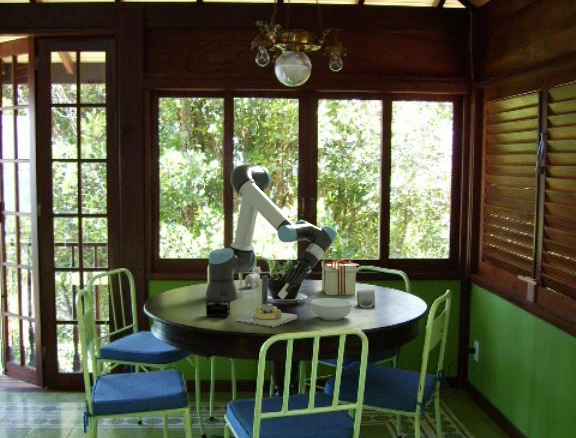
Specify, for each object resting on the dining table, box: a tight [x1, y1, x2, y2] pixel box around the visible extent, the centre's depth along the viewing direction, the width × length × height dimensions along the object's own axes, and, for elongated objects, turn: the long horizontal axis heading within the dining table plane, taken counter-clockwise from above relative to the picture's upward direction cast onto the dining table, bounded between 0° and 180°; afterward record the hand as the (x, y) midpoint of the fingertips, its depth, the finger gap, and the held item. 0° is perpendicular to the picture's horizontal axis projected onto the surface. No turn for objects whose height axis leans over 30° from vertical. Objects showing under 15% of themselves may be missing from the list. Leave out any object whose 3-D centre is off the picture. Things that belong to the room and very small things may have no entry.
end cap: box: [205, 300, 231, 319], centre depth 284 cm, size 10×7×7 cm
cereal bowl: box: [310, 297, 353, 321], centre depth 282 cm, size 17×17×7 cm
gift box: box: [321, 258, 361, 296], centre depth 337 cm, size 17×18×17 cm
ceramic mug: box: [356, 288, 376, 310], centre depth 306 cm, size 11×8×8 cm
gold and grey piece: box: [253, 275, 282, 319], centre depth 280 cm, size 16×11×15 cm
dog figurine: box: [244, 265, 262, 290], centre depth 353 cm, size 5×13×11 cm, turn 157°
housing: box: [236, 303, 298, 328], centre depth 278 cm, size 18×18×6 cm
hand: (280, 296), depth 291 cm, fingers closed
